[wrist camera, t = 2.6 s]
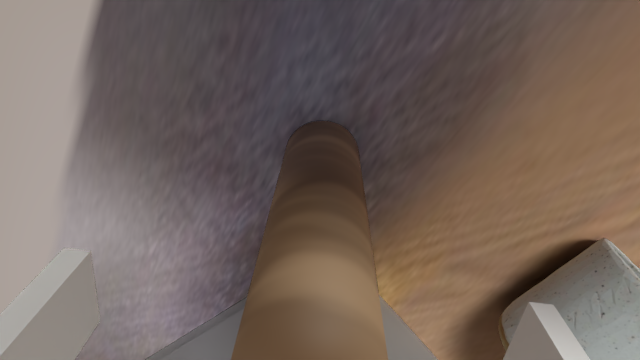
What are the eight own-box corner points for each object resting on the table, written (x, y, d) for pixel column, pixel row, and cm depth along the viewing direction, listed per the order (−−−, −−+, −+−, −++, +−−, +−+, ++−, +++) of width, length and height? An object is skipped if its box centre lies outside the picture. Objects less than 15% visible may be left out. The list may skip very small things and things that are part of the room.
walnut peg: (329, 105, 22) (324, 291, 9) (373, 162, 23) (421, 390, 11) (270, 149, 23) (195, 365, 10) (315, 200, 24) (297, 447, 12)
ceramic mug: (472, 298, 27) (521, 410, 20) (581, 214, 24) (680, 313, 17) (573, 369, 30) (645, 488, 23) (681, 302, 27) (799, 417, 20)
